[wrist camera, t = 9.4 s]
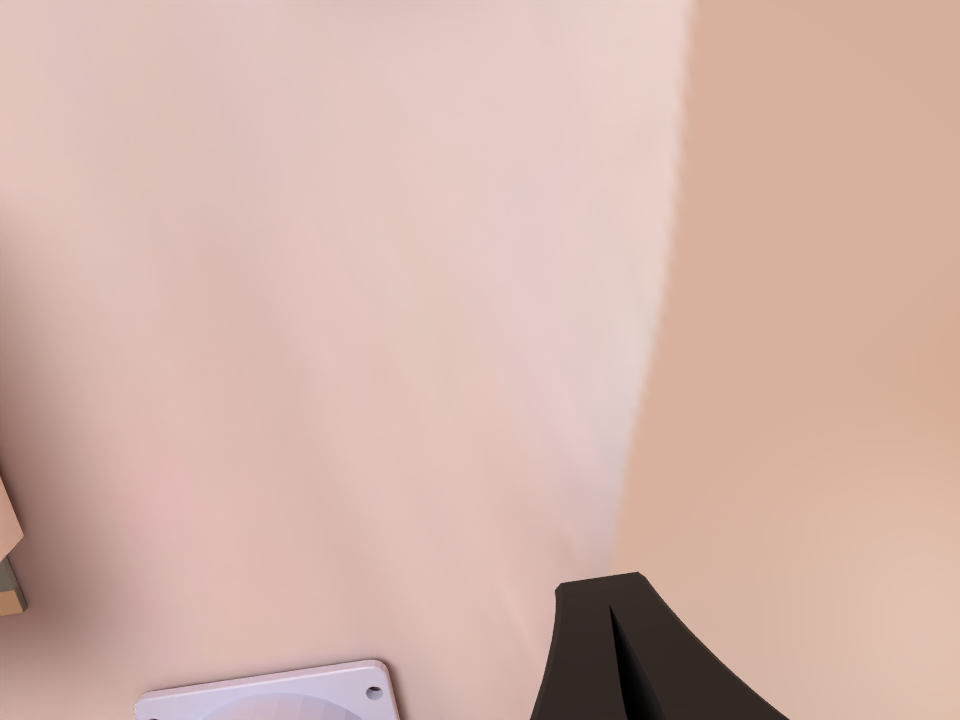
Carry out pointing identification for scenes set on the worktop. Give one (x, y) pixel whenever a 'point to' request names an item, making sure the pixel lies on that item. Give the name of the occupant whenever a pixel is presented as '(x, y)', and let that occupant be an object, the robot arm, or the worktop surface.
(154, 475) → the worktop surface
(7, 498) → the milk carton
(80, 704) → the worktop surface
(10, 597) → the display mat
